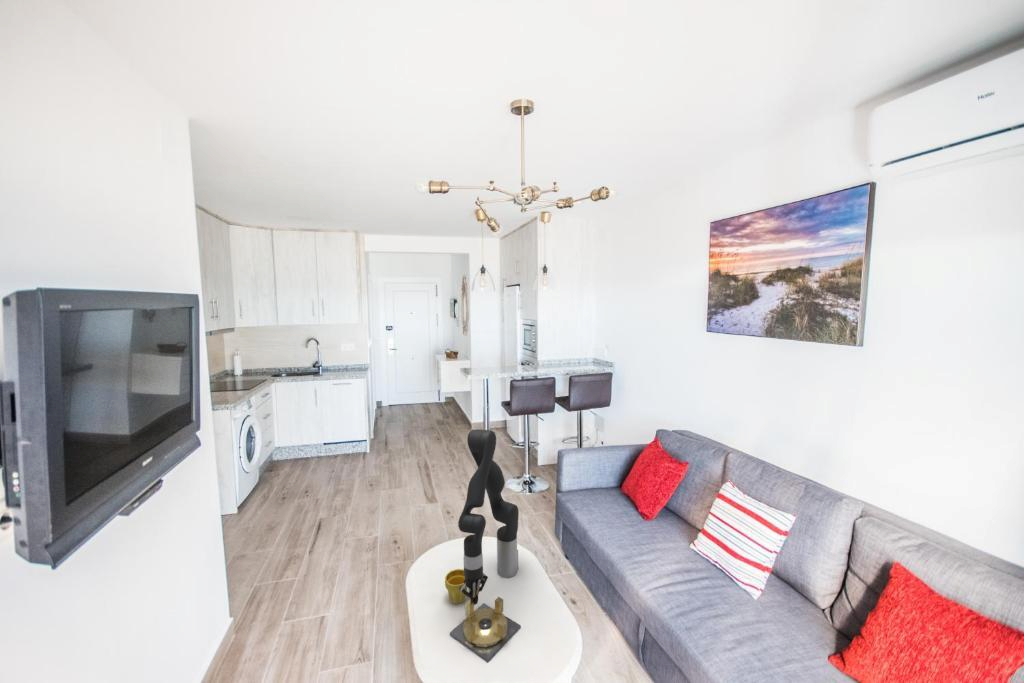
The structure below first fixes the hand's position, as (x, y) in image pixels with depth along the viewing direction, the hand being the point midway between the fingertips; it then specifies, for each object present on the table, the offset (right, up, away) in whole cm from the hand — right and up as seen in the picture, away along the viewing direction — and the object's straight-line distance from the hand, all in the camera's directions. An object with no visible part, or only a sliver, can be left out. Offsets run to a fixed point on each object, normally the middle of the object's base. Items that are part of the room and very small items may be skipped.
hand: (474, 603), depth 164 cm
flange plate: (+5, -7, -6) cm, 10 cm away
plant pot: (-8, -5, +11) cm, 15 cm away
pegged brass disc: (+5, -5, -7) cm, 10 cm away
